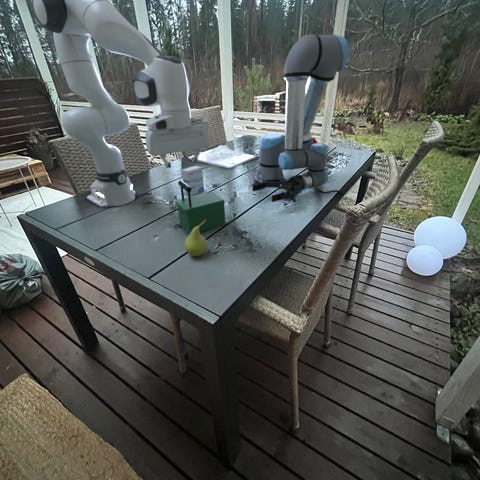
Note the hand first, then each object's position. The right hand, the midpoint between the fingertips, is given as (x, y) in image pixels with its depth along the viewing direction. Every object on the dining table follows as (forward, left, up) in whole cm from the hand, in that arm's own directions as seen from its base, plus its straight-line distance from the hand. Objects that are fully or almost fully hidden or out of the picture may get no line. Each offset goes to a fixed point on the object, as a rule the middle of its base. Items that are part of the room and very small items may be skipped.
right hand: (262, 193), depth 114 cm
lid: (+18, +22, +3) cm, 29 cm away
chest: (+18, +22, -6) cm, 29 cm away
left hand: (+22, +26, +18) cm, 38 cm away
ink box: (+35, -6, -6) cm, 36 cm away
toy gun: (-10, -71, -6) cm, 72 cm away
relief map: (+43, -63, -6) cm, 77 cm away
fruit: (+11, +40, -6) cm, 42 cm away
